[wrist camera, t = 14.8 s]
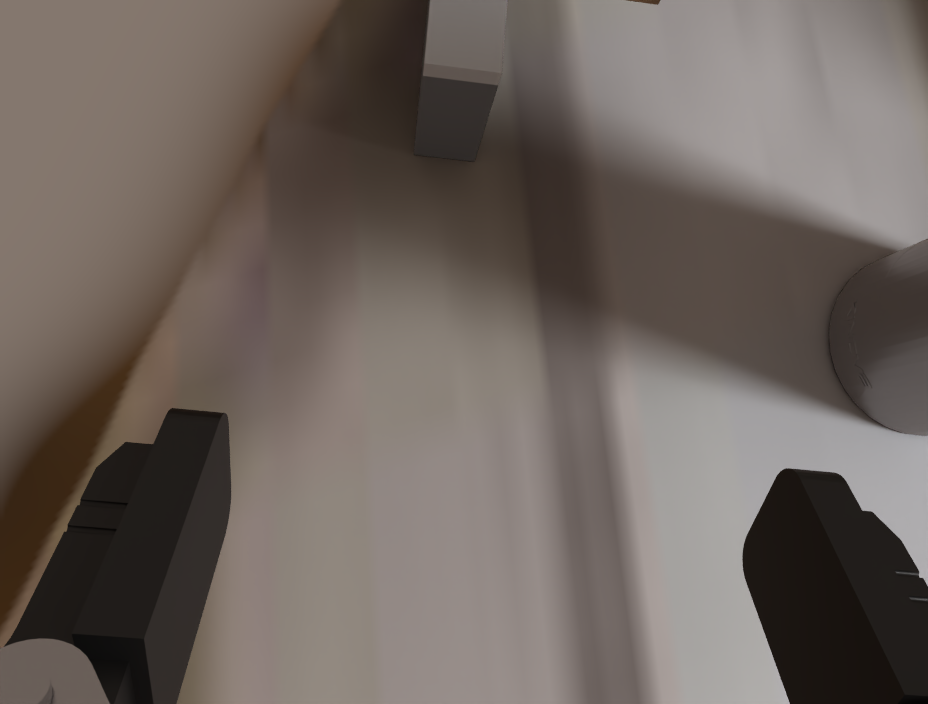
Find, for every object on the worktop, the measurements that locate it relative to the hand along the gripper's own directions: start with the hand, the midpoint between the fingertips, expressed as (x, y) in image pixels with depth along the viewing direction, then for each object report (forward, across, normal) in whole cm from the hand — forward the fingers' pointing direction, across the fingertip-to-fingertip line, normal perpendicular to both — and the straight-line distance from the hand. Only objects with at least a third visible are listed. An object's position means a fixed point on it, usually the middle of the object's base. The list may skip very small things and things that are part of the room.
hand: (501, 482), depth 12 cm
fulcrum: (+33, 0, +4) cm, 33 cm away
